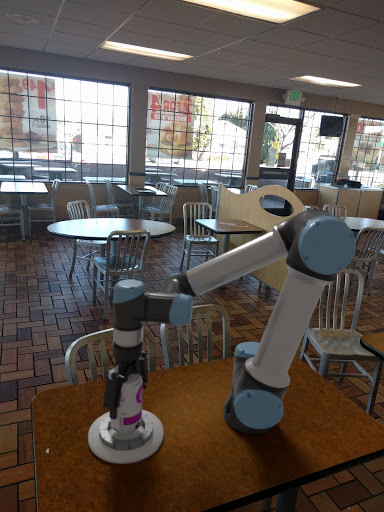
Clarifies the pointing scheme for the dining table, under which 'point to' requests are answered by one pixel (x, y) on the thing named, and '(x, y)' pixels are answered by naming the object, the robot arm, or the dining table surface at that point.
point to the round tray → (127, 454)
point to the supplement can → (131, 404)
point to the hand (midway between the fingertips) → (126, 417)
